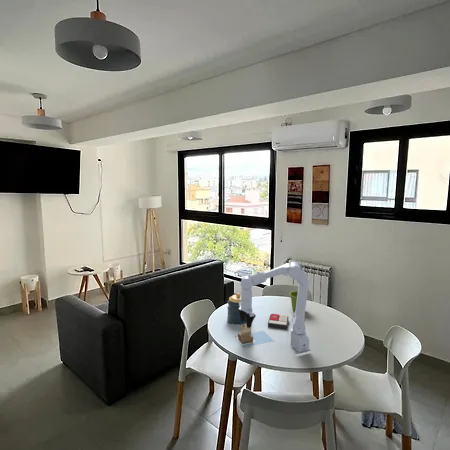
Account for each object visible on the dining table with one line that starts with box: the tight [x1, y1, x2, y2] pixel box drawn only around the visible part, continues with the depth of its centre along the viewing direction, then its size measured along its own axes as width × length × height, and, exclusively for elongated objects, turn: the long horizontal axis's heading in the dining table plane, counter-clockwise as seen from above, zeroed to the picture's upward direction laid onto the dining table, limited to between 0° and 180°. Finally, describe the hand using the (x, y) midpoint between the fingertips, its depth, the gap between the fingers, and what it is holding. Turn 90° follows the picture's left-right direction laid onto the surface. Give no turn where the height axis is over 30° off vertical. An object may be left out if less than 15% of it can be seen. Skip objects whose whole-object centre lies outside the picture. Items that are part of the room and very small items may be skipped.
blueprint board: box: [234, 330, 275, 348], centre depth 161 cm, size 12×18×1 cm, turn 111°
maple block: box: [240, 323, 252, 337], centre depth 158 cm, size 4×4×5 cm
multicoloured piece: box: [267, 313, 289, 330], centre depth 180 cm, size 11×4×15 cm
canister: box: [226, 292, 248, 325], centre depth 182 cm, size 13×13×18 cm
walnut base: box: [237, 332, 253, 344], centre depth 159 cm, size 6×6×3 cm
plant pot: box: [289, 290, 308, 312], centre depth 199 cm, size 12×12×11 cm
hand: (245, 324), depth 158 cm, fingers open, 7 cm apart
